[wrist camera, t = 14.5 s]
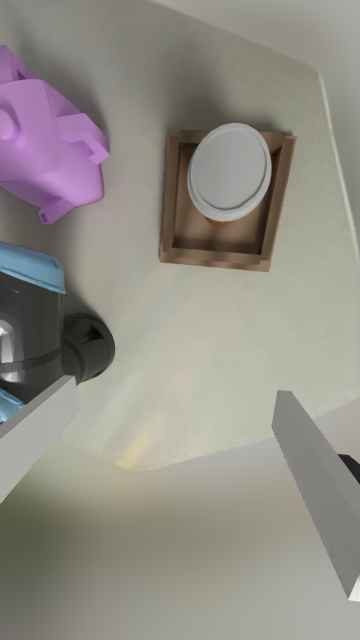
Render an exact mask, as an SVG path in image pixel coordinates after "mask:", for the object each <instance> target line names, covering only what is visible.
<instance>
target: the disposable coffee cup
mask: <svg viewBox="0 0 360 640" xmlns="http://www.w3.org/2000/svg"><path fill="white" fill-rule="evenodd" d="M270 178H271V158H270V154H269V149H268V146H267V144H266V142H265V140H264V138H263V137H262V135H261V134H260V133H259V132H258V131H257V130H256V129H254V128H252V127H250V126H248V125H246V124H241V123H230V124H225V125H222V126H220V127H218V128H216V129H214V130H213V131H211V132H210V133H209V134H208V135H207V136H206V137H205V138H204V139H203V140H202V142H201V143H200V144H199V145H198V147H197V148H196V150H195V152H194V153H193V156H192V158H191V160H190V164H189V168H188V175H187V184H188V191H189V194H190V197H191V199H192V201H193V203H194V205H195V206H196V208H197V209H198V210H199V211H200V212H201V213H202V214H203V215H204V217H205V218H206V220H207V221H208V222H209V223H211V224H212V225H215V226H224V225H227V224H229V223H230V222H232V221H233V220H236V219H239V218H241V217H243V216H245V215H247V214H248V213H249V212H251V211H252V210H253V209H254V208H255V207H256V206H257V205H258V204H259V203H260V201H261V200H262V198H263V197H264V195H265V193H266V191H267V189H268V186H269V183H270Z"/></svg>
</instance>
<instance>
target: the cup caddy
mask: <svg viewBox="0 0 360 640" xmlns="http://www.w3.org/2000/svg"><path fill="white" fill-rule="evenodd" d="M210 132H211V131H196V130H180V133H167V144H166V161H165V179H164V196H163V213H162V231H161V248H160V262H164V263H175V264H186V265H197V266H208V267H219V268H230V269H241V270H252V271H263V272H269V268H270V263H271V258H272V253H273V248H274V244H275V239H276V234H277V229H278V224H279V220H280V215H281V210H282V205H283V200H284V196H285V191H286V186H287V181H288V176H289V172H290V167H291V162H292V157H293V152H294V148H295V143H296V138H297V136H284V134H285V132H259V133H260V134H261V135H262V137H263V138H264V140H265V142H266V144H267V146H268V149H269V154H270V158H271V178H270V183H269V186H268V189H267V191H266V193H265V195H264V197H263V198H262V200H261V201H260V203H259V204H258V205H257V206H256V207H255V208H254V209H253V210H252V211H251V212H249V213H248V214H247V215H245V216H243V217H241V218H239V219H236V220H233V221H232V222H230V223H229V224H227V225H224V226H215V225H212V224H211V223H209V222H208V221H207V220H206V218H205V217H204V215H203V214H202V213H201V212H200V211H199V210H198V209H197V208H196V206H195V205H194V203H193V201H192V199H191V197H190V194H189V191H188V184H187V175H188V168H189V164H190V160H191V158H192V156H193V153H194V152H195V150H196V148H197V147H198V145H199V144H200V143H201V142H202V140H203V139H204V138H205V137H206V136H207V135H208V134H209V133H210Z"/></svg>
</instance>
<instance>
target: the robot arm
mask: <svg viewBox="0 0 360 640" xmlns="http://www.w3.org/2000/svg"><path fill="white" fill-rule="evenodd" d="M65 294H66V289H65V284H64V269H63V266H62V264H61V262H60V261H59V260H58V259H56V258H55V257H53V256H51V255H48V254H45V253H42V252H38V251H35V250H31V249H28V248H24V247H20V246H16V245H13V244H9V243H5V242H2V241H0V503H1V502H2V501H3V500H4V499H5V497H6V496H7V495H8V494H9V493H10V491H11V490H12V489H13V488H14V487H15V486H16V484H17V483H18V482H19V481H20V480H21V479H22V477H23V476H24V475H25V474H26V473H27V472H28V470H29V469H30V468H31V467H32V466H33V464H34V463H35V462H36V461H37V460H38V459H39V458H40V456H41V455H42V454H43V453H44V452H45V450H46V449H47V448H48V447H49V446H50V445H51V443H52V442H53V441H54V440H55V439H56V438H57V436H58V435H59V434H60V433H61V432H62V431H63V429H64V428H65V427H66V426H67V425H68V424H69V422H70V421H71V420H72V419H73V418H74V417H75V415H76V414H77V413H78V412H79V411H80V407H79V401H78V394H77V388H76V386H77V385H78V384H79V383H82V382H84V381H87V380H89V379H92V378H95V377H97V376H99V375H100V374H102V373H103V372H104V371H105V370H106V369H107V368H108V367H109V366H110V365H111V363H112V361H113V359H114V355H115V345H114V340H113V338H112V335H111V333H110V332H109V330H108V329H107V328H106V326H105V325H104V324H103V323H101V322H100V321H99V320H97V319H96V318H94V317H92V316H89V315H86V314H72V315H69V316H66V317H64V300H65ZM272 430H273V432H274V434H275V436H276V439H277V441H278V443H279V445H280V448H281V450H282V452H283V454H284V457H285V459H286V461H287V463H288V465H289V467H290V470H291V472H292V474H293V477H294V479H295V481H296V483H297V486H298V488H299V490H300V492H301V495H302V497H303V499H304V501H305V504H306V506H307V508H308V510H309V513H310V515H311V517H312V519H313V521H314V524H315V526H316V528H317V531H318V533H319V535H320V537H321V540H322V542H323V544H324V546H325V548H326V551H327V553H328V555H329V557H330V560H331V562H332V564H333V566H334V568H335V571H336V573H337V575H338V578H339V580H340V582H341V584H342V587H343V589H344V591H345V593H346V596H347V598H348V600H353V601H359V602H360V464H359V463H357V462H356V461H355V460H354V459H353V458H351V457H350V456H349V455H342V454H337V453H336V452H335V450H334V449H333V448H332V446H331V445H330V444H329V442H328V441H327V440H326V438H325V437H324V436H323V434H322V433H321V431H320V430H319V429H318V427H317V426H316V425H315V423H314V422H313V420H312V419H311V418H310V416H309V415H308V414H307V412H306V411H305V410H304V408H303V407H302V406H301V404H300V403H299V401H298V400H297V399H296V397H295V396H294V395H293V393H292V392H291V391H282V390H278V391H277V397H276V403H275V409H274V415H273V421H272Z"/></svg>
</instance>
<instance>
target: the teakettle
mask: <svg viewBox="0 0 360 640" xmlns="http://www.w3.org/2000/svg"><path fill="white" fill-rule="evenodd" d="M109 156H111V154H110V146H109V139H108V138H107V137H106V136H105V135H104V133H103V132H102V131H101V130H100V129H99V128H98V127H97V126H96V125H95V124H94V122H93V121H92V120H91V119H90V118H89V117H88V116H87V115H86V114H85V113H81V112H80V111H79V110H78V109H77V108H76V107H75V106H74V105H73V104H72V103H71V102H70V101H69V100H68V99H67V98H65V97H64V96H63V95H62V94H61V93H59V92H58V91H57V90H56V89H54V88H53V87H52V86H50V85H49V84H48V83H46V82H45V81H44V80H41V79H38V78H37V76H36V75H35V74H34V73H33V72H32V71H31V70H30V69H29V68H28V67H27V66H26V65H25V64H24V63H23V62H22V61H21V60H20V59H19V58H18V57H17V56H16V55H15V54H14V53H13V52H12V51H11V50H10V49H9V48H8V47H7V46H6V45H2V46H0V187H2V188H4V189H5V190H7V191H8V192H10V193H12V194H13V195H15V196H17V197H18V198H20V199H22V200H24V201H26V202H28V203H30V204H32V205H35V206H37V207H41V209H40V211H39V212H37V213H38V216H39V218H40V220H41V223H42V225H48V224H52V223H54V222H55V221H56V220H58V219H59V218H60V217H62V216H63V215H64V214H66V213H67V212H68V211H70V210H71V209H72V208H74V207H80V206H84V205H87V204H91V203H94V202H97V201H99V200H101V199H102V198H103V197H104V184H103V177H102V170H101V162H102V161H104V160H105V159H107V158H108V157H109Z"/></svg>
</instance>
